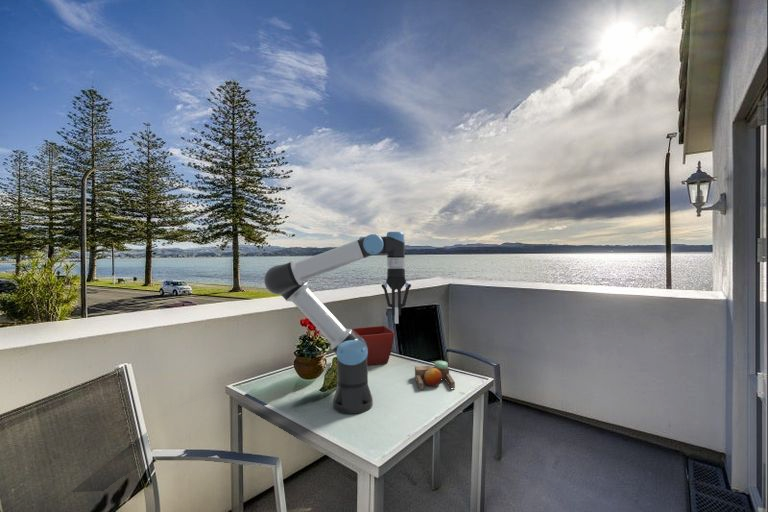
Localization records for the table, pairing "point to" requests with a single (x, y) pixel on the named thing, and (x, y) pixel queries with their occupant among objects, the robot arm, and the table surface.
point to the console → (423, 369)
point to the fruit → (433, 377)
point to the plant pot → (377, 343)
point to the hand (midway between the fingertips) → (396, 323)
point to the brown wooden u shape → (448, 378)
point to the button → (441, 365)
